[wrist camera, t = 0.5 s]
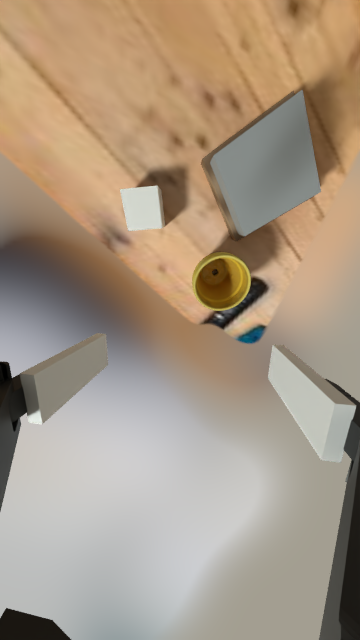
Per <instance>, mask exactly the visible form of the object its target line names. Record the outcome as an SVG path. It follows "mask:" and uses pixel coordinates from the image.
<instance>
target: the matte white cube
mask: <svg viewBox="0 0 360 640" xmlns="http://www.w3.org/2000/svg"><path fill="white" fill-rule="evenodd" d="M120 192H121V197H122V202H123V207H124V212H125V217H126V222H127V227H128V231H134V230H146V229H157V228H163V227H165V220H164V210H163V201H162V191H161V189H160V188H159V187H158V186H148V187H138V188H128V189H120Z"/></svg>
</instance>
